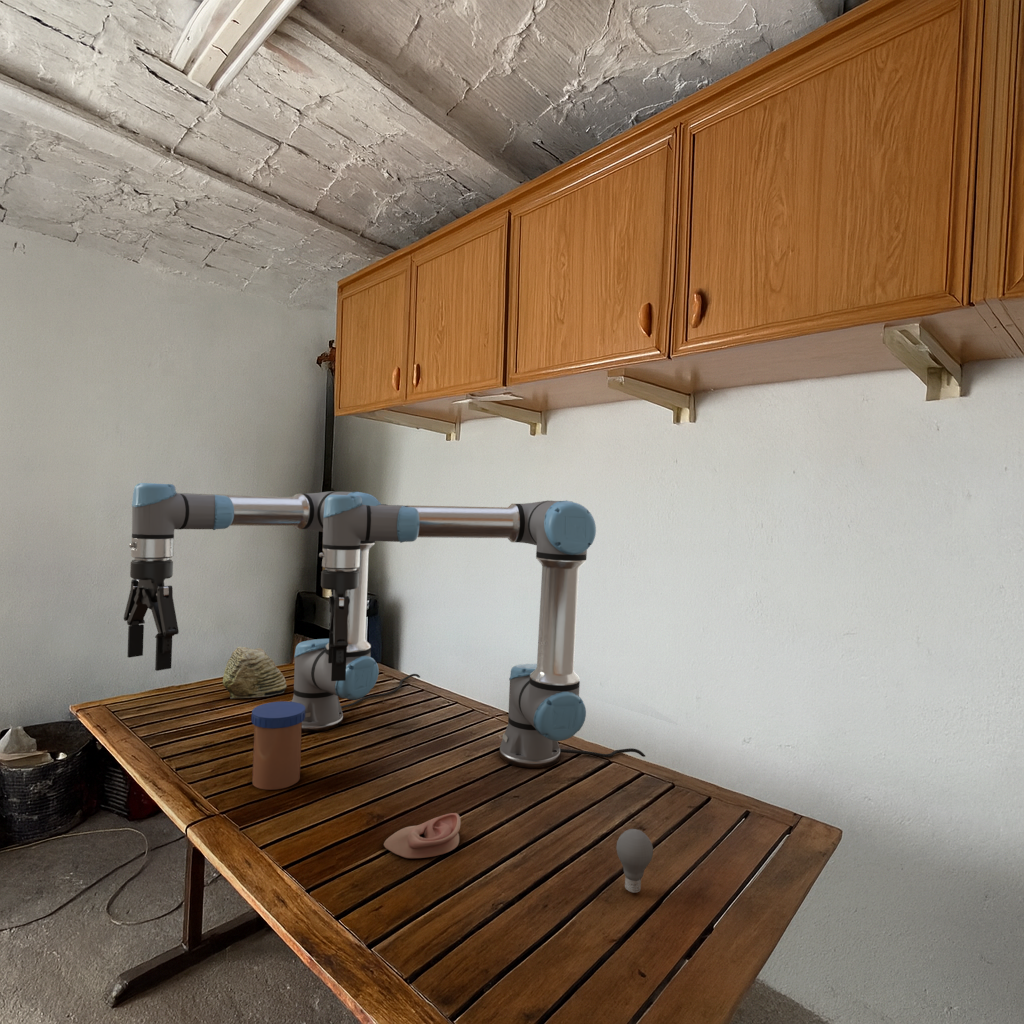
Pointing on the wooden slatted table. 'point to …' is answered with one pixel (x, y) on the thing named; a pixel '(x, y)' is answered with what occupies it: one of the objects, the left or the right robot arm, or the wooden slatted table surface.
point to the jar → (276, 757)
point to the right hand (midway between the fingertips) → (336, 671)
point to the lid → (278, 714)
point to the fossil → (252, 674)
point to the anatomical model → (426, 838)
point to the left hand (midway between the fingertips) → (148, 662)
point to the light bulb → (634, 857)
